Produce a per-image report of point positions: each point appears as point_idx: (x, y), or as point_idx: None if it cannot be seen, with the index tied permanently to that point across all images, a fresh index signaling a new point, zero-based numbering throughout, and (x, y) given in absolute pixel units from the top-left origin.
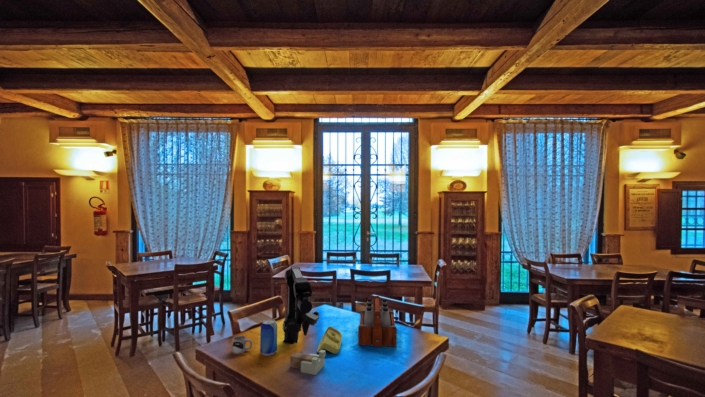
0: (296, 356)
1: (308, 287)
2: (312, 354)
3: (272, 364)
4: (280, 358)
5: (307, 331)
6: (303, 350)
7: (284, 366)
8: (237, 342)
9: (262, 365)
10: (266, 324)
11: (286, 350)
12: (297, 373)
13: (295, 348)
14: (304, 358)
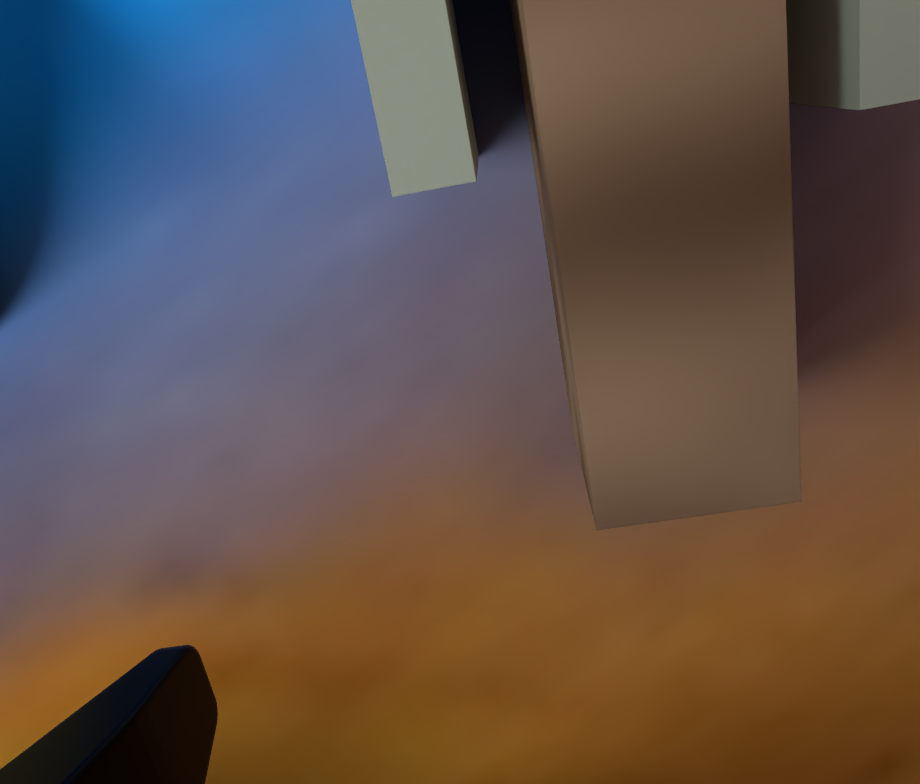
0: (761, 368)
1: None
2: (412, 98)
3: (781, 679)
4: (554, 699)
5: (38, 755)
6: (104, 574)
7: None
8: None
9: (868, 768)
10: None
11: (285, 779)
12: (909, 115)
13: None
14: (784, 106)
